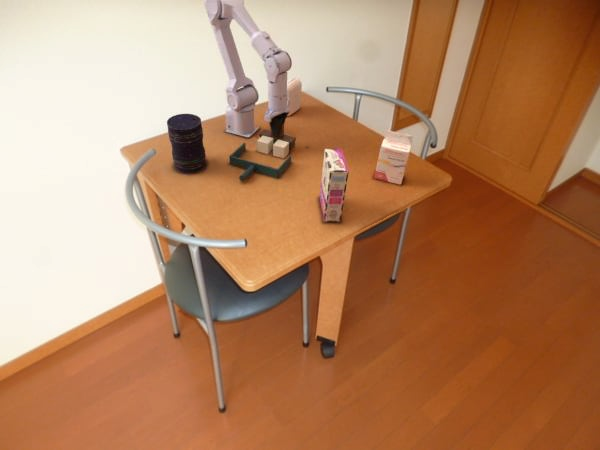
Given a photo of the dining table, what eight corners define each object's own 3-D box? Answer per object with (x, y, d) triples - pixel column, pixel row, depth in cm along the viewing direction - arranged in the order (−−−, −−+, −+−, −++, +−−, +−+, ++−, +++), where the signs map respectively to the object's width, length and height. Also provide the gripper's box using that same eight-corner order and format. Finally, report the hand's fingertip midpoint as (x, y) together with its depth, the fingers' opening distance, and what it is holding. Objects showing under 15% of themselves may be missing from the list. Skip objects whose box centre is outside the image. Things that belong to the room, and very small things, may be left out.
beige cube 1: (257, 151, 138) (257, 140, 136) (262, 145, 141) (262, 135, 139) (268, 154, 137) (268, 143, 135) (273, 148, 140) (273, 138, 137)
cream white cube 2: (272, 155, 137) (272, 144, 134) (278, 150, 140) (278, 139, 137) (283, 158, 136) (284, 147, 133) (288, 152, 139) (289, 142, 136)
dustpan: (217, 175, 127) (217, 167, 125) (244, 150, 138) (244, 142, 136) (267, 190, 122) (267, 182, 120) (291, 163, 134) (291, 155, 132)
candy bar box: (342, 222, 113) (349, 171, 102) (323, 222, 112) (329, 171, 102) (336, 197, 121) (342, 147, 110) (318, 197, 121) (323, 147, 110)
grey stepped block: (258, 142, 141) (258, 121, 136) (263, 138, 143) (263, 116, 138) (291, 151, 138) (292, 129, 133) (295, 146, 140) (296, 124, 135)
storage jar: (179, 176, 125) (171, 132, 116) (170, 160, 132) (162, 116, 122) (211, 169, 129) (206, 125, 119) (201, 154, 135) (195, 111, 126)
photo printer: (288, 117, 157) (289, 86, 149) (278, 114, 159) (279, 83, 151) (302, 108, 164) (303, 77, 156) (292, 105, 166) (294, 74, 158)
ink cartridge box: (373, 179, 129) (381, 136, 119) (376, 170, 133) (385, 129, 123) (401, 185, 127) (411, 142, 118) (403, 176, 131) (414, 134, 121)
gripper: (279, 105, 123) (278, 145, 132) (298, 87, 133) (297, 126, 142) (257, 100, 125) (258, 140, 133) (278, 83, 135) (278, 121, 144)
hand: (277, 133), depth 138 cm, fingers closed on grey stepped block, 2 cm apart
